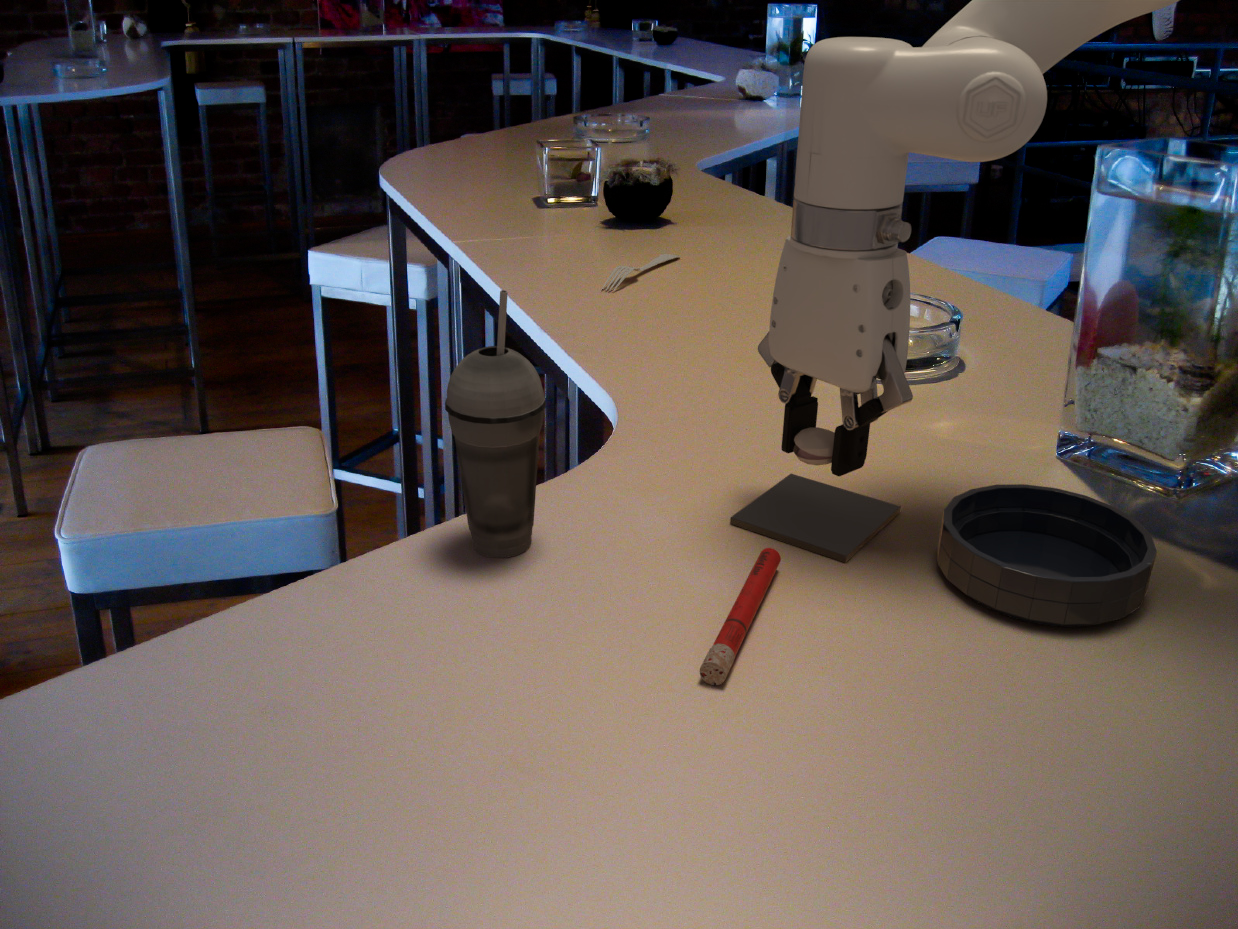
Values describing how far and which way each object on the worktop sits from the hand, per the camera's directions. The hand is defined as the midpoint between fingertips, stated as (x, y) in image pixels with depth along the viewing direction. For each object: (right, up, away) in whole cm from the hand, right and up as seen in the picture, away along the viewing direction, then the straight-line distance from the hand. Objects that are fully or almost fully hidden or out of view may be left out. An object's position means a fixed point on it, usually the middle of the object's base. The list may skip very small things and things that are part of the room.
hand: (822, 457), depth 84 cm
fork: (-13, +26, +67) cm, 73 cm away
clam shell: (0, 0, 0) cm, 1 cm away
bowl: (+15, -9, -6) cm, 18 cm away
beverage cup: (-25, -7, -2) cm, 26 cm away
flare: (-7, -11, -11) cm, 17 cm away
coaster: (0, -5, +2) cm, 5 cm away
